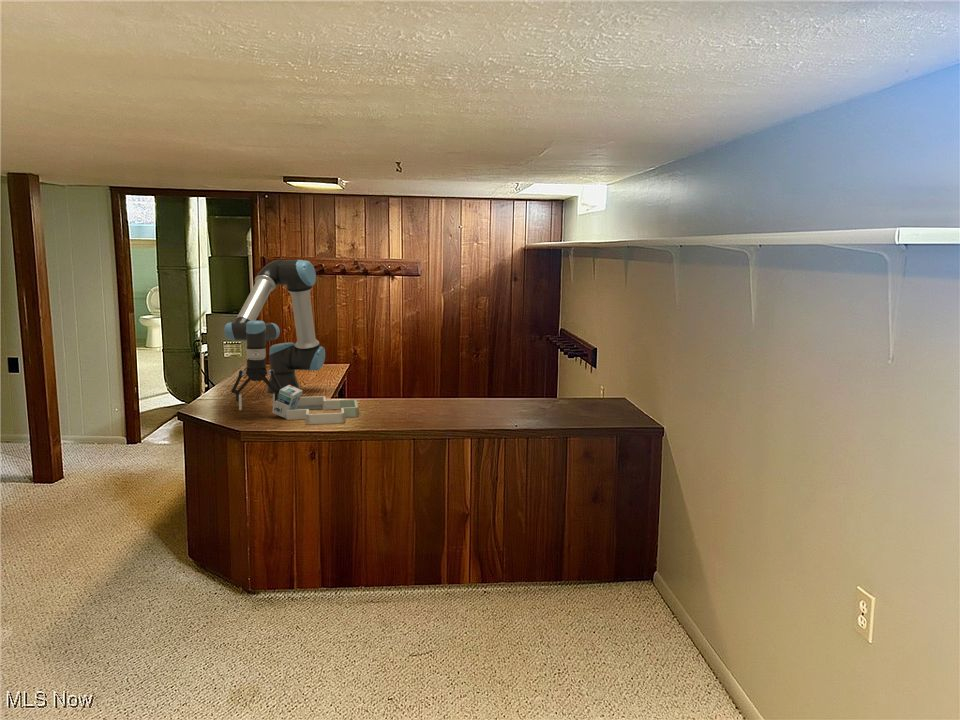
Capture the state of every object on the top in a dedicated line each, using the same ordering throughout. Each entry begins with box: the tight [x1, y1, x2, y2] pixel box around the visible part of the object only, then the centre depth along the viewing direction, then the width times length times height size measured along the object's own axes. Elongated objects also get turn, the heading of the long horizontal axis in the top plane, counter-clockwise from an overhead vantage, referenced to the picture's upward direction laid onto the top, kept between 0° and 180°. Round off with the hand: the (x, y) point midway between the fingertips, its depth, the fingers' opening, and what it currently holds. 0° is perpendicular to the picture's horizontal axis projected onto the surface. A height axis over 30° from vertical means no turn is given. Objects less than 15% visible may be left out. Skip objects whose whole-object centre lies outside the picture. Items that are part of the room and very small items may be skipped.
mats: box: [296, 405, 324, 411], centre depth 307 cm, size 32×19×1 cm, turn 13°
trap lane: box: [286, 395, 359, 425], centre depth 307 cm, size 34×29×4 cm
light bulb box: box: [271, 385, 304, 419], centre depth 302 cm, size 11×7×11 cm, turn 174°
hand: (257, 409), depth 301 cm, fingers open, 13 cm apart
